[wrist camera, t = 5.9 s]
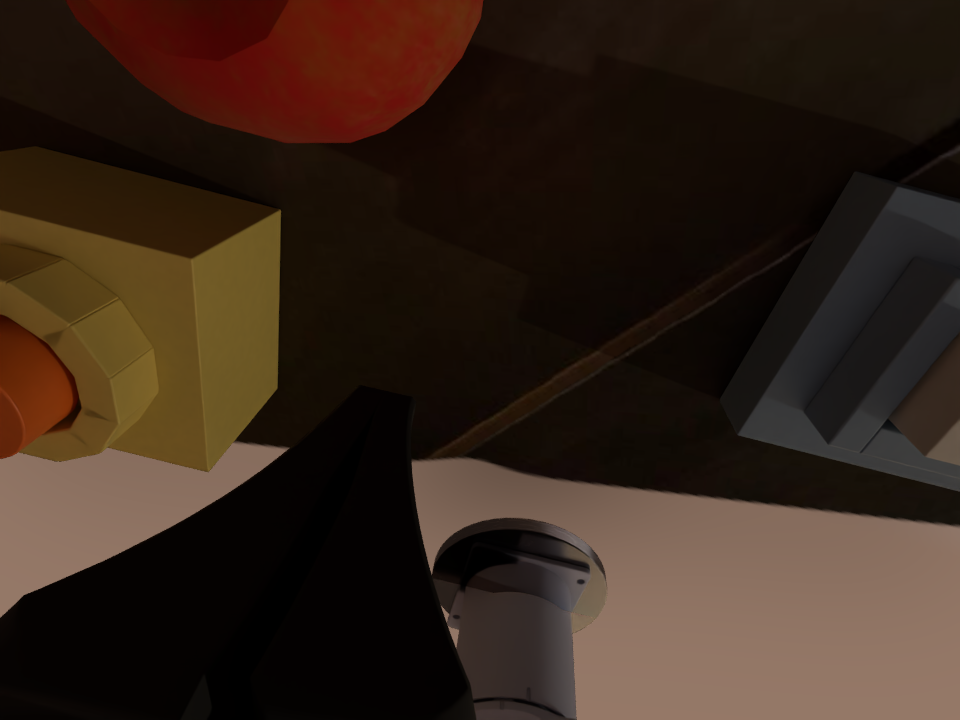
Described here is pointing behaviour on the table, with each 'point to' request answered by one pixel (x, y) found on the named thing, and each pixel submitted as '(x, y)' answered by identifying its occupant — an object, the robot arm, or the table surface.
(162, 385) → the button housing
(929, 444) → the button
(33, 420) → the trigger button
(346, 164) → the table surface
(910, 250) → the blue-grey square base
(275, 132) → the apple
